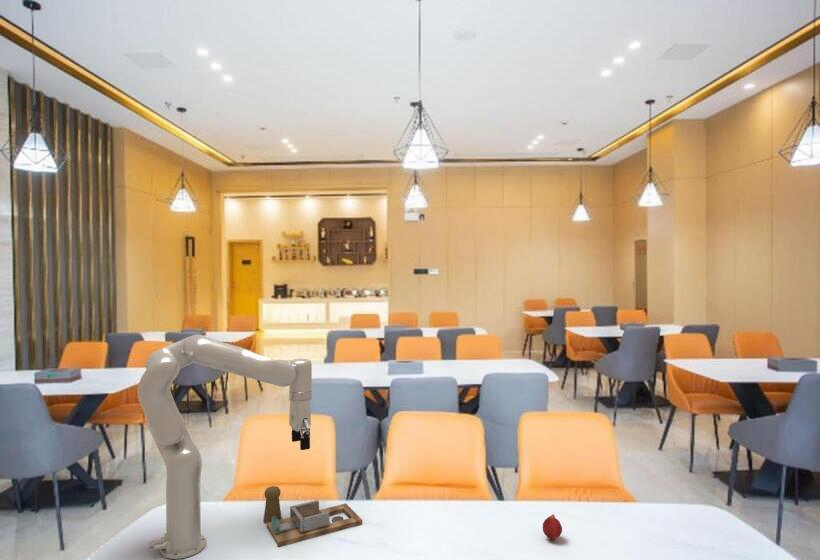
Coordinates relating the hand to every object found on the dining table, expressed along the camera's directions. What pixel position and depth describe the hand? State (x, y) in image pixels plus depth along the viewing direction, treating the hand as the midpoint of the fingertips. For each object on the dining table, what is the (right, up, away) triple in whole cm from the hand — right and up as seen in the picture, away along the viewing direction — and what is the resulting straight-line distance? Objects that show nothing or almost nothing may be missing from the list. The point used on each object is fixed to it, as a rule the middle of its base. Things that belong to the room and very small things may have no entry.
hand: (300, 445), depth 173 cm
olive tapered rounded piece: (-9, -25, -3) cm, 26 cm away
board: (+6, -25, -7) cm, 26 cm away
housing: (+2, -23, -9) cm, 25 cm away
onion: (+82, -25, -16) cm, 87 cm away
